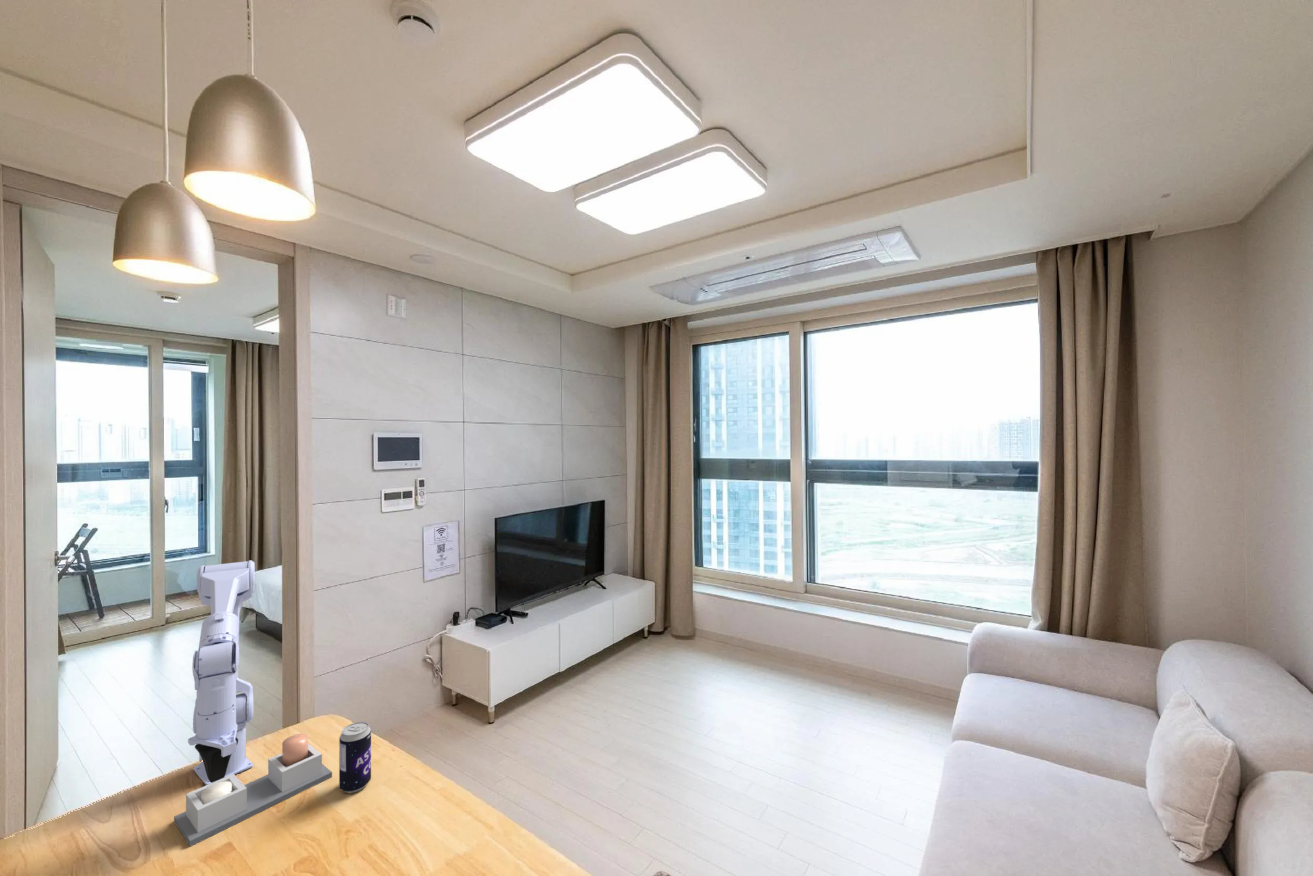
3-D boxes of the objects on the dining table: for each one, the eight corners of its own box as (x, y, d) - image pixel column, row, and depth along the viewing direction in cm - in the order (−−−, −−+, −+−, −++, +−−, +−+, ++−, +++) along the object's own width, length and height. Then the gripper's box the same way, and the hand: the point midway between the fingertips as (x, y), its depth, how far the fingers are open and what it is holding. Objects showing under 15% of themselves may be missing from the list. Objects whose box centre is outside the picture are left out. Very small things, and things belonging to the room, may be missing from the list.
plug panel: (174, 821, 97) (174, 795, 97) (311, 759, 116) (311, 737, 116) (189, 846, 92) (189, 818, 92) (331, 776, 110) (332, 753, 110)
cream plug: (198, 813, 98) (198, 791, 98) (227, 799, 102) (227, 778, 102) (205, 823, 95) (205, 800, 95) (235, 809, 99) (235, 787, 99)
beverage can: (356, 797, 104) (356, 738, 104) (332, 793, 105) (332, 734, 105) (377, 779, 110) (377, 722, 110) (354, 775, 111) (354, 719, 111)
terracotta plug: (278, 761, 109) (278, 741, 109) (302, 751, 112) (302, 731, 112) (287, 769, 106) (287, 748, 106) (311, 758, 110) (311, 738, 110)
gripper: (177, 704, 99) (177, 775, 99) (201, 730, 91) (201, 807, 91) (224, 689, 105) (224, 756, 105) (250, 712, 97) (250, 785, 97)
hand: (216, 778), depth 99 cm, fingers closed
